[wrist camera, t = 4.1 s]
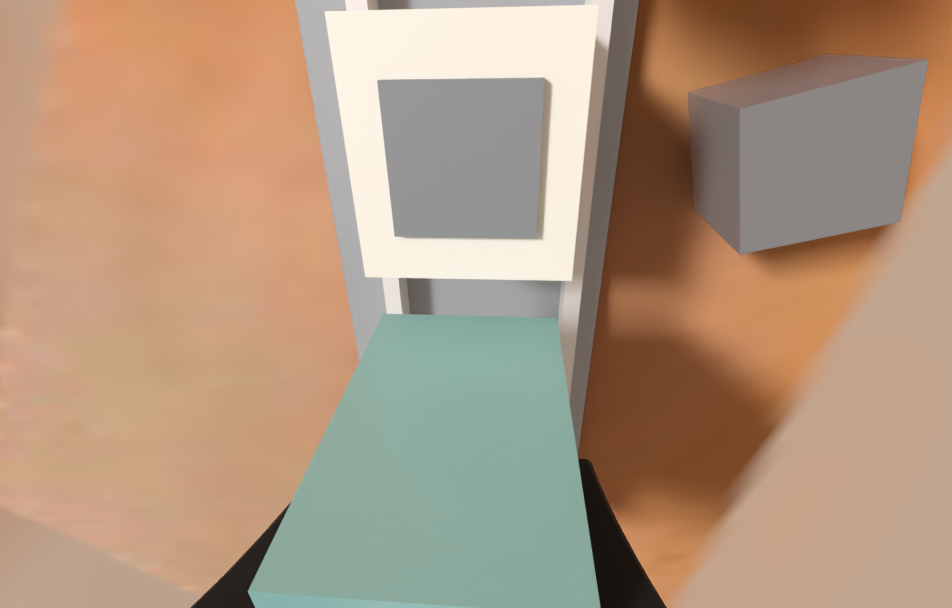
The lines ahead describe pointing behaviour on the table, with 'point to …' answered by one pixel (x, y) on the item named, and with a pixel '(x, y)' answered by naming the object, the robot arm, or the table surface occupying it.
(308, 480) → the block
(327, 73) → the board
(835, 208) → the dark loose block
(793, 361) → the table surface
